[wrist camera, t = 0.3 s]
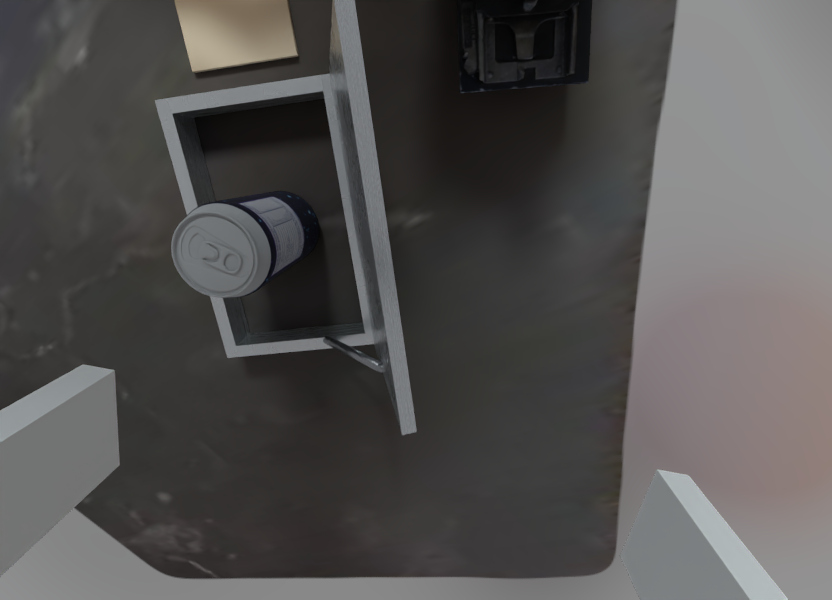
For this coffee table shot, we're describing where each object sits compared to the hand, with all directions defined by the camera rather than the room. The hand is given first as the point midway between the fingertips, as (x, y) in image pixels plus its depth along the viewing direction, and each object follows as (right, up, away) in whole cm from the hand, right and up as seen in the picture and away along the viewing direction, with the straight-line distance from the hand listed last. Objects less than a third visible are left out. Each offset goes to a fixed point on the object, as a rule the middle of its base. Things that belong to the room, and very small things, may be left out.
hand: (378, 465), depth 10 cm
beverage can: (-10, +10, +25) cm, 28 cm away
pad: (-12, +25, +20) cm, 34 cm away
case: (-8, +10, +24) cm, 28 cm away
